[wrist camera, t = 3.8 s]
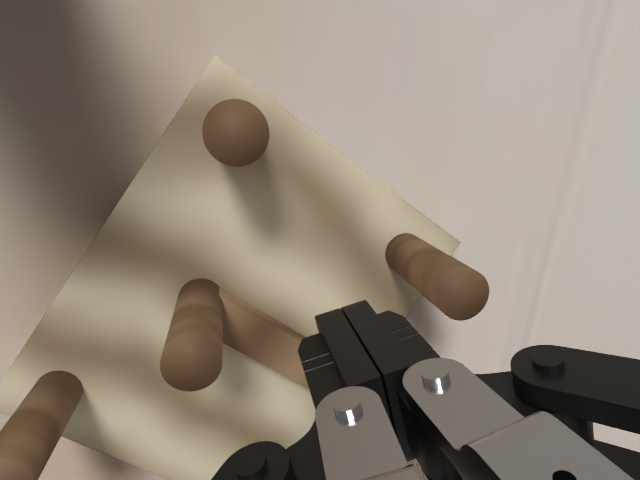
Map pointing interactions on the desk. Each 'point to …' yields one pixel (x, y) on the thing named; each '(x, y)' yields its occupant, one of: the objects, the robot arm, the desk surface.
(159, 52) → the desk surface
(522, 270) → the desk surface
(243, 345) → the swing leg
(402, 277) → the stool frame
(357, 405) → the robot arm
